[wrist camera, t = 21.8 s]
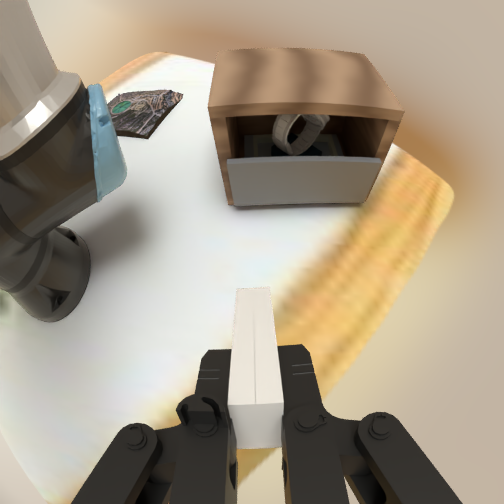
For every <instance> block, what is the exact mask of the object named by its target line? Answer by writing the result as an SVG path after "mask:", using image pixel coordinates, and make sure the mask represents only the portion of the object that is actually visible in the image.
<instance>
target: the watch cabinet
mask: <svg viewBox="0 0 504 504" xmlns="http://www.w3.org/2000/svg"><path fill="white" fill-rule="evenodd" d="M208 111H209V116H210V121H211V126H212V131H213V135H214V140H215V145H216V150H217V154H218V159H219V164H220V169H221V173H222V178H223V182H224V187H225V192H226V196H227V201H228V205H234V201H233V196H232V190H231V185H230V180H229V174H228V169H227V159H237V158H245V150H244V135H264V134H273V126H274V123H275V121H276V118H277V116H278V115H279V114H289V115H290V114H316V115H328V116H329V118H330V120H329V121H328V122H327V123H326V125H325V127H324V129H323V130H321V131H320V133H319V134H337V137H338V140H339V143H340V146H341V149H342V152H343V156H344V157H369V158H380V160H381V162H382V164H381V166H380V168H379V171H378V173H377V175H376V177H375V180H374V182H373V184H372V186H371V188H370V190H369V193H370V191H371V189H372V187H373V185H374V183H375V181H376V178H377V176H378V174H379V172H380V169H381V167H382V165H383V163H384V160H385V158H386V156H387V153H388V151H389V149H390V146H391V144H392V142H393V139H394V136H395V134H396V132H397V129H398V127H399V124H400V122H401V119H402V117H403V114H404V110H403V108H402V106H401V105H400V103H399V102H398V100H397V98H396V97H395V96H394V94H393V93H392V91H391V90H390V88H389V87H388V85H387V84H386V82H385V81H384V80H383V78H382V77H381V75H380V74H379V73H378V72H377V70H376V69H375V67H374V66H373V65H372V63H370V61H369V60H368V58H367V57H366V56H365V55H364V54H360V53H352V52H344V51H334V50H322V49H305V48H257V49H239V50H228V51H218V52H217V57H216V62H215V67H214V73H213V78H212V84H211V90H210V95H209V102H208ZM284 121H285V120H284ZM286 122H287V121H286ZM291 122H292V121H291ZM306 122H307V121H305V120H304V118H303V117H302V116H301V115H300V116H299V117H298V118H297V119H296V121H295V122H293V125H292V126H291V128H290V130H289V132H288V134H290V133H293V134H301V133H302V131H303V130H304V127H305V125H306ZM310 130H311V129H310ZM369 193H368V195H367V197H366V199H365V201H366V200H367V198H368V196H369Z"/></svg>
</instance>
